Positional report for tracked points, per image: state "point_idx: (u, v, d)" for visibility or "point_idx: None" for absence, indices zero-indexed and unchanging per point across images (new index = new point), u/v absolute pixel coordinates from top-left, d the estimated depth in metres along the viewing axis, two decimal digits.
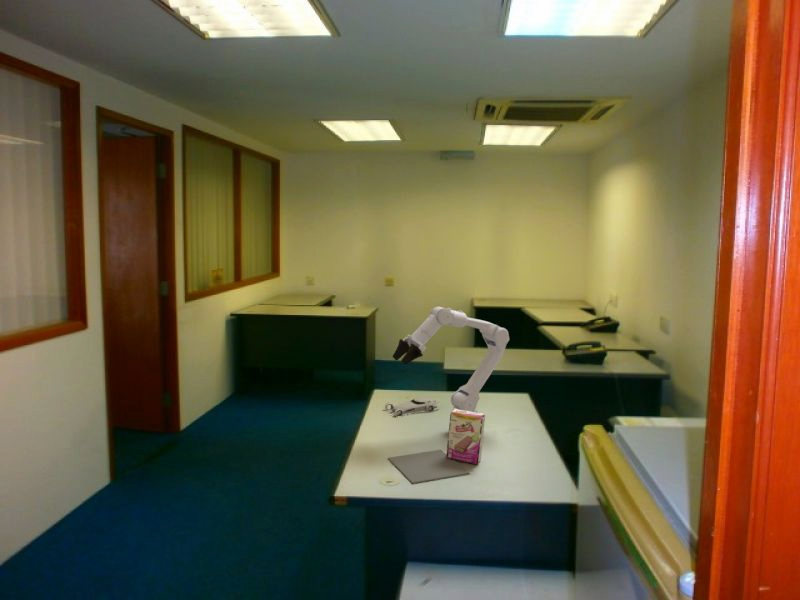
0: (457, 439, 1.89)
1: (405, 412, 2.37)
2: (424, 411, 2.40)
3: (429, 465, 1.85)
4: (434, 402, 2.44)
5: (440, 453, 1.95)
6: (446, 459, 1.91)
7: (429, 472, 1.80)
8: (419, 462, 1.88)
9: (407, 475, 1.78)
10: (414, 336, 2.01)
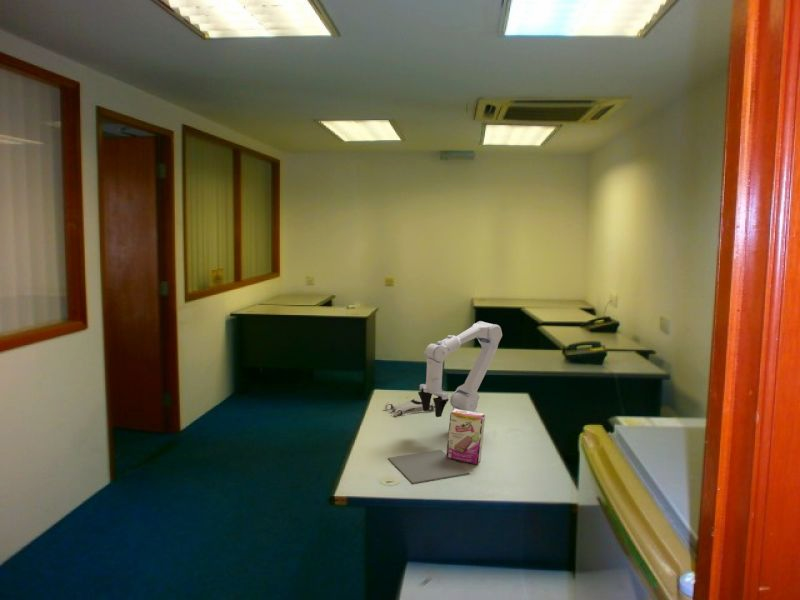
0: (457, 439, 1.89)
1: (405, 412, 2.37)
2: (424, 411, 2.40)
3: (429, 465, 1.85)
4: None
5: (440, 453, 1.95)
6: (446, 459, 1.91)
7: (429, 472, 1.80)
8: (419, 462, 1.88)
9: (407, 475, 1.78)
10: (430, 388, 2.03)
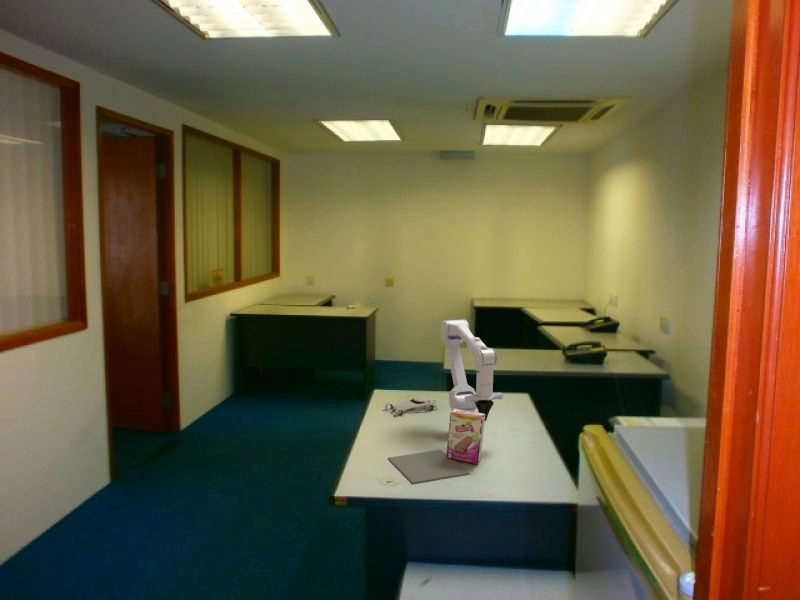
0: (457, 439, 1.89)
1: (405, 412, 2.38)
2: (424, 410, 2.41)
3: (429, 465, 1.85)
4: (433, 401, 2.45)
5: (440, 453, 1.95)
6: (446, 459, 1.91)
7: (429, 472, 1.80)
8: (419, 462, 1.88)
9: (407, 475, 1.78)
10: (491, 394, 1.98)
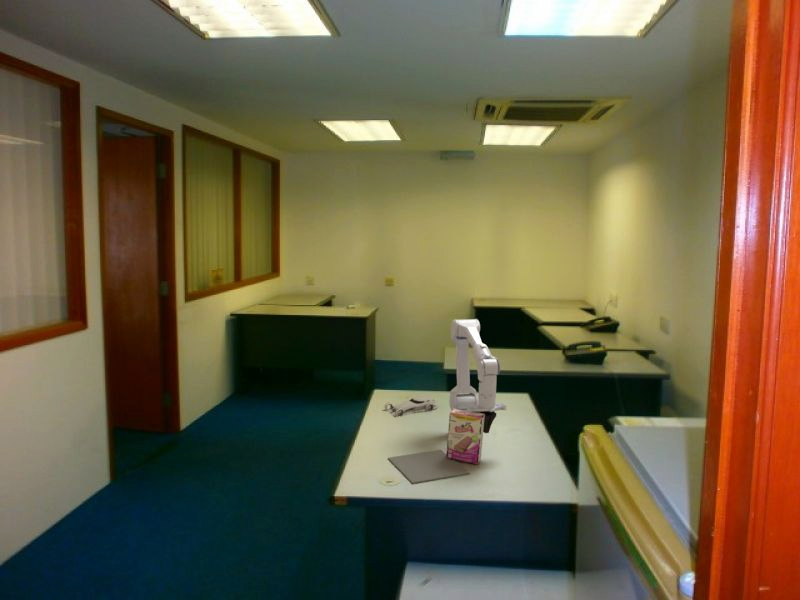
0: (456, 439, 1.89)
1: (405, 411, 2.38)
2: (424, 410, 2.42)
3: (429, 465, 1.85)
4: (433, 401, 2.45)
5: (440, 453, 1.95)
6: (446, 459, 1.91)
7: (429, 472, 1.80)
8: (419, 462, 1.88)
9: (407, 475, 1.78)
10: (494, 405, 1.90)
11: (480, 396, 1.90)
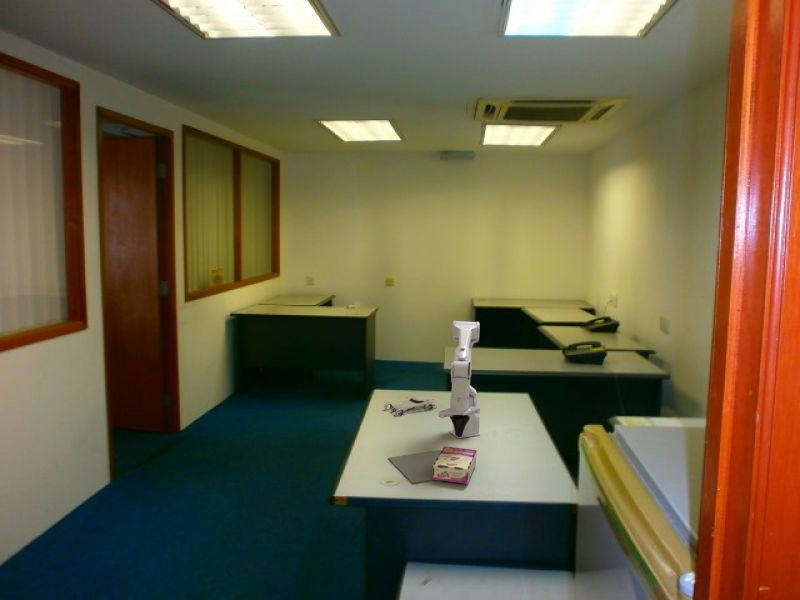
0: None
1: (405, 411, 2.38)
2: (423, 410, 2.42)
3: (429, 465, 1.85)
4: (432, 400, 2.46)
5: None
6: None
7: (429, 472, 1.80)
8: (419, 462, 1.88)
9: (407, 475, 1.78)
10: (466, 409, 1.86)
11: (453, 399, 1.86)
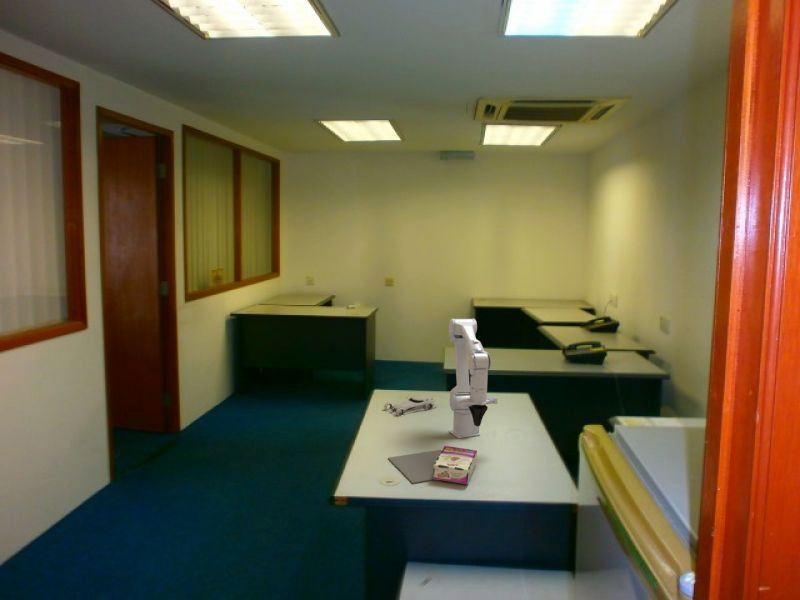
0: None
1: (405, 411, 2.39)
2: (423, 409, 2.43)
3: (429, 465, 1.85)
4: (432, 400, 2.47)
5: None
6: None
7: (429, 472, 1.80)
8: (419, 462, 1.88)
9: (407, 475, 1.78)
10: (485, 399, 1.93)
11: (471, 390, 1.94)
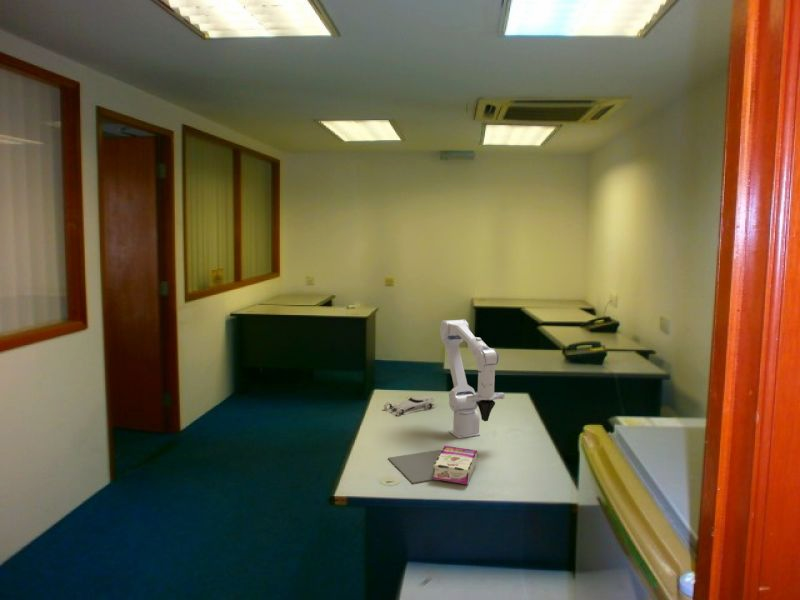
0: None
1: (406, 411, 2.39)
2: (423, 409, 2.43)
3: (429, 465, 1.85)
4: (431, 400, 2.47)
5: None
6: None
7: (429, 472, 1.80)
8: (419, 462, 1.88)
9: (407, 475, 1.78)
10: (492, 394, 1.98)
11: (479, 385, 1.98)
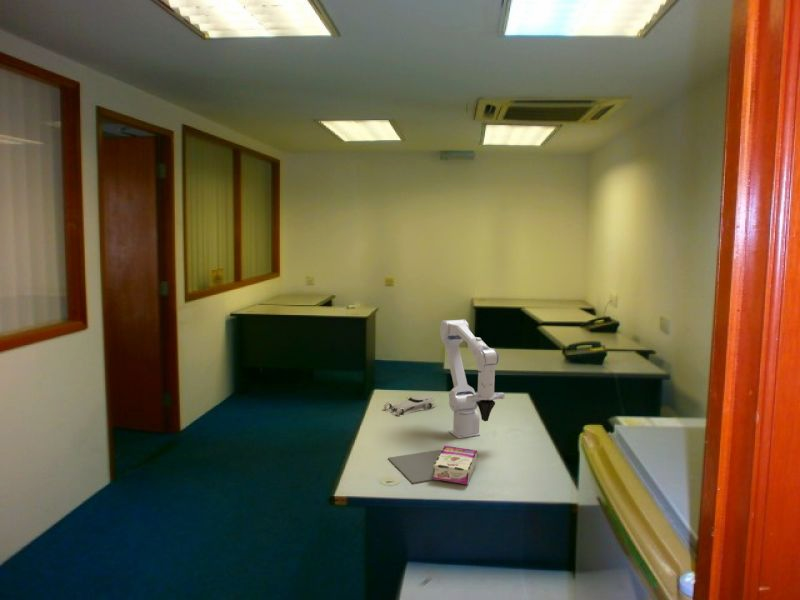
0: None
1: (406, 411, 2.39)
2: (423, 409, 2.43)
3: (429, 465, 1.85)
4: (431, 399, 2.48)
5: None
6: None
7: (429, 472, 1.80)
8: (419, 462, 1.88)
9: (407, 475, 1.78)
10: (492, 394, 1.98)
11: (479, 385, 1.98)
